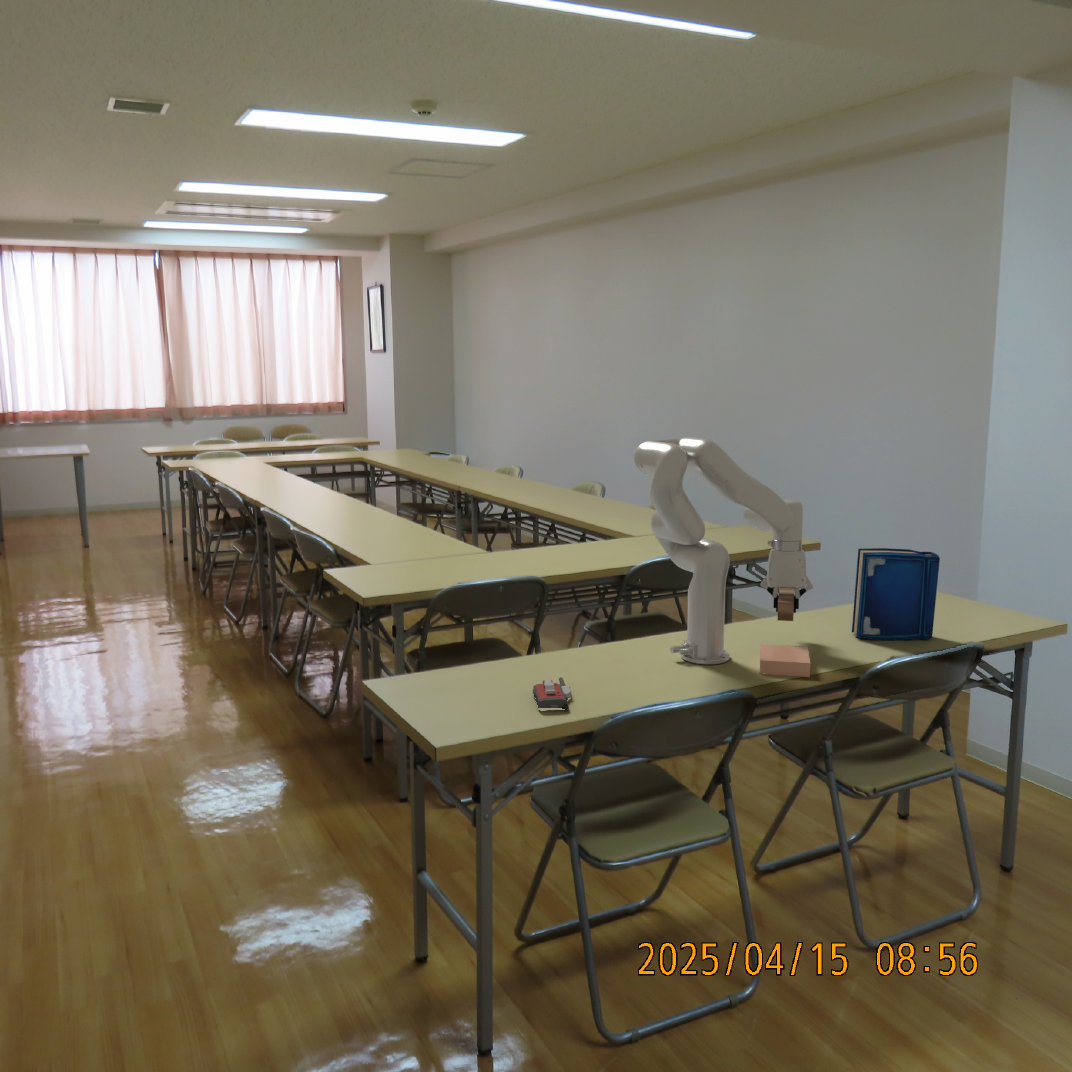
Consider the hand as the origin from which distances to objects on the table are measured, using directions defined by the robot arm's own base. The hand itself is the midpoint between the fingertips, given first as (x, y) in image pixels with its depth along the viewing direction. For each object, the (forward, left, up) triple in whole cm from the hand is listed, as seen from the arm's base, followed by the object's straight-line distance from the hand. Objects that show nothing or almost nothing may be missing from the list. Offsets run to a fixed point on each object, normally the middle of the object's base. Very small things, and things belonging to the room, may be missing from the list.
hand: (786, 610), depth 253 cm
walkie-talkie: (-74, -16, -10) cm, 76 cm away
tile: (-8, -11, -8) cm, 15 cm away
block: (0, 0, 0) cm, 0 cm away
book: (+32, -6, -10) cm, 34 cm away
